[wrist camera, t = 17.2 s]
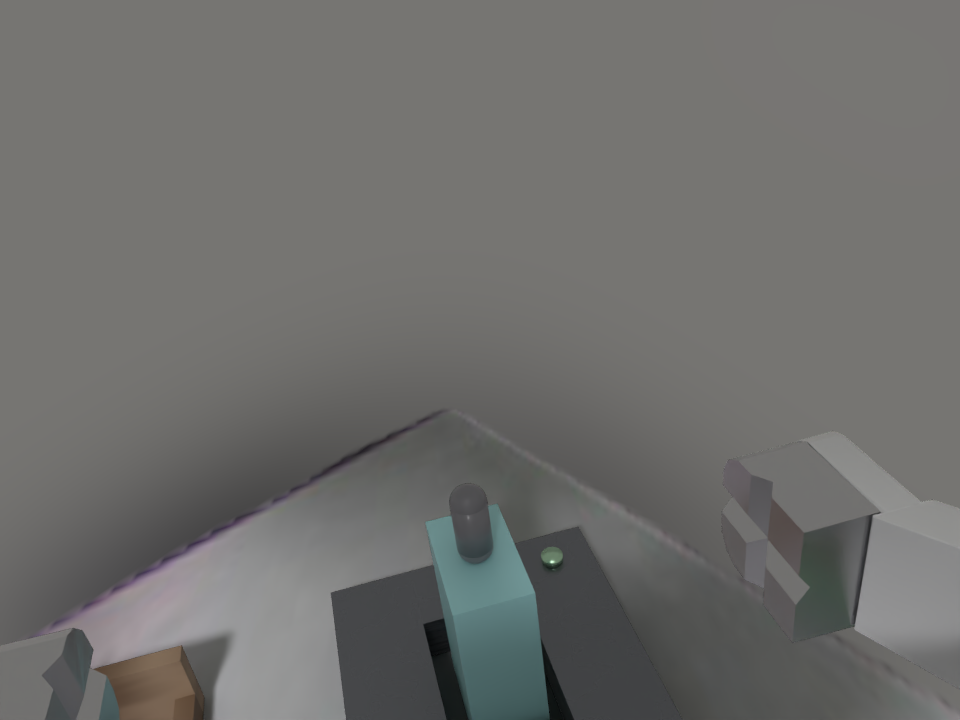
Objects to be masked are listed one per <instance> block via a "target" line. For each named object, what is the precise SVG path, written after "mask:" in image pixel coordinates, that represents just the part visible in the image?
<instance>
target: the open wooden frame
mask: <svg viewBox="0 0 960 720" xmlns="http://www.w3.org/2000/svg"><path fill="white" fill-rule="evenodd" d="M93 670H96V671H98V672H100V673H102V674H104V675H106V676H107V677H108V679H109V681H110V683H111V685H112V688H113V690H114V693H115V696H116V700H117V704H118V707H119V719H120V720H203V711H204V695H203V693H202V691H201V688H200V686H199V684H198V682H197V679H196V677H195V675H194V672H193V670H192V668H191V666H190V663H189V661H188V659H187V656H186V654H185V652H184V650H183V647H182V645H181V646H178V647H174V648H170V649H166V650H163V651H159V652H155V653H152V654H148V655H144V656H140V657H137V658H133V659H129V660H125V661H122V662H118V663H114V664H111V665H107V666H103V667H99V668H96V669H93Z"/></svg>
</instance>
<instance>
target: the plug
mask: <svg viewBox="0 0 960 720" xmlns="http://www.w3.org/2000/svg"><path fill="white" fill-rule="evenodd" d="M449 505H450V511H451V516H447V517H443V518H439V519H435V520H431V521H427V522H425V523H426V528H427V533H428V538H429V544H430V549H431V554H432V559H433V564H434V569H435V574H436V579H437V584H438V589H439V594H440V600H441V605H442V610H443V615H444V620H445V625H446V630H447V635H448V640H449V645H450V650H451V656H452V661H453V666H454V670H455V673H456V677H457V680H458V684H459V688H460V691H461V695H462V699H463V702H464V706H465V710H466V713H467V717H468V720H550V717H549V708H548V700H547V691H546V682H545V673H544V665H543V656H542V647H541V639H540V630H539V621H538V613H537V604H536V595H535V591H534V589H533V586H532V584H531V582H530V579H529V577H528V575H527V572H526V570H525V568H524V565H523V563H522V561H521V558H520V556H519V553H518V551H517V549H516V546H515V544H514V542H513V539H512V537H511V535H510V532H509V530H508V528H507V525H506V523H505V521H504V518H503V516H502V513H501V511H500V509H499V506H498V504H494V505H490V506H488V502H487V497H486V494H485V493H484V491H483V490H482V489H481V488H480V487H479V486H477V485H475V484H472V483H465V484H462V485H459V486H458V487H456V488H455V489H454V490H453V492H452V494H451V496H450V500H449Z"/></svg>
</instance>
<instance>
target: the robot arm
mask: <svg viewBox="0 0 960 720" xmlns="http://www.w3.org/2000/svg"><path fill="white" fill-rule="evenodd" d="M723 486H724V487H725V488H726V489H727V490H728V492H729V493H730V494H731V495H732V497H731V499H730V500H729V502H728V503H727V504H726V506H725V507H724V509H723V510H722V534H723V537H724V541H725V545H726V549H727V552H728V554H729V556H730V558H731V560H732V562H733V564H734V566H735V567H736V569H737V570H738V571H739V573H740V574H741V576H742V577H743V578H744V580H746V581H748V582H751V583H753V584H755V585H757V586H759V587H762V588H764V595H763V605H764V607H765V608H766V609H767V611H768V612H769V613H770V615H771V616H772V617H773V619H774V620H775V621H776V622H777V624H778V625H779V626H780V628H781V629H782V630H783V632H784V633H785V634H786V636H787V637H788V638H789V640H790V641H791V642H792V643H794V642H798V641H801V640H805V639H809V638H813V637H816V636H820V635H824V634H828V633H831V632H835V631H839V630H842V629H846V628H850V627H854V626H855V628H854V630H856V631H857V632H859V633H861V634H863V635H864V636H866V637H868V638H870V639H872V640H873V641H875V642H877V643H878V644H880V645H882V646H884V647H885V648H887V649H889V650H891V651H893V652H894V653H896V654H898V655H900V656H901V657H903V658H905V659H907V660H908V661H910V662H912V663H914V664H915V665H917V666H919V667H921V668H923V669H924V670H926V671H928V672H929V673H931V674H933V675H935V676H937V677H938V678H940V679H942V680H944V681H945V682H947V683H949V684H951V685H952V686H954V687H956V688H958V689H960V508H956V507H954V506H951V505H948V504H945V503H941V502H938V501H935V500H929V501H925V502H921V501H919V500H918V499H917V498H916V497H915V496H914V495H912V494H911V493H910V492H909V491H908V490H907V489H905V488H904V487H903V486H902V485H901V484H900V483H899V482H897V481H896V480H895V479H894V478H893V477H892V476H890V475H889V474H888V473H887V472H886V471H884V470H883V469H882V468H881V467H880V466H879V465H878V464H876V463H875V462H874V461H873V460H872V459H871V458H870V457H868V456H867V455H866V454H865V453H864V452H863V451H861V450H860V449H859V448H858V447H857V446H856V445H855V444H853V443H852V442H851V441H850V440H849V439H847V438H846V437H845V436H844V435H842V434H840V433H837V432H834V431H831V432H827V433H824V434H820V435H816V436H813V437H809V438H806V439H802V440H798V441H797V442H795V443H789V444H786V445H782V446H778V447H774V448H771V449H767V450H763V451H759V452H756V453H752V454H748V455H744V456H740V457H737V458H733V459H729V460H728V461H727V463H726V465H725V468H724V474H723ZM92 654H93V648H92V646H91V645H90V643H89V641H88V639H87V638H86V636H85V634H84V632H83V631H82V630H79V629H75V628H72V629H68V630H63V631H59V632H55V633H51V634H46V635H42V636H38V637H33V638H29V639H25V640H21V641H16V642H12V643H8V644H4V645H0V720H120V719H119V707H118V704H117V700H116V696H115V693H114V690H113V688H112V685H111V683H110V681H109V679H108V677H107V676H106V675H104V674H102V673H100V672H98V671H96V670H93V669H91V668H90V664H91V659H92Z"/></svg>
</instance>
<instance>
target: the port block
mask: <svg viewBox="0 0 960 720" xmlns="http://www.w3.org/2000/svg"><path fill="white" fill-rule="evenodd" d="M515 546H516V549H517V551H518V553H519V556H520V558H521V561H522V563H523V565H524V568H525V570H526V572H527V575H528V577H529V579H530V582H531V584H532V586H533V589H534V591H535V595H536V604H537V613H538V621H539V630H540V639H541V647H542V656H543V665H544V670H545V673H546V675H547V678H548V681H549V683H550V686H551V688H552V691H553V693H554V696H555V698H556V701H557V704H558V706H559V709H560V711H561V714H562V716H563V719H564V720H682V718H681V716H680V714H679V712H678V711H677V709H676V707H675V705H674V703H673V701H672V700H671V698H670V696H669V694H668V692H667V690H666V688H665V687H664V685H663V683H662V681H661V679H660V677H659V675H658V674H657V672H656V670H655V668H654V666H653V664H652V662H651V661H650V659H649V657H648V655H647V653H646V651H645V649H644V648H643V646H642V644H641V642H640V640H639V638H638V637H637V635H636V633H635V631H634V629H633V627H632V625H631V624H630V622H629V620H628V618H627V616H626V614H625V612H624V611H623V609H622V607H621V605H620V603H619V601H618V599H617V598H616V596H615V594H614V592H613V590H612V588H611V586H610V585H609V583H608V581H607V579H606V577H605V575H604V574H603V572H602V570H601V568H600V566H599V564H598V562H597V561H596V559H595V557H594V555H593V553H592V551H591V549H590V548H589V546H588V544H587V542H586V540H585V538H584V536H583V535H582V533H581V531H580V529H579V527H575V528H572V529H568V530H564V531H560V532H557V533H553V534H549V535H545V536H542V537H538V538H534V539H530V540H527V541H523V542H519V543H515ZM331 598H332V606H333V614H334V623H335V631H336V639H337V647H338V656H339V664H340V672H341V681H342V689H343V697H344V705H345V714H346V720H447V719H446V715H445V711H444V707H443V703H442V699H441V695H440V691H439V687H438V683H437V679H436V674H435V670H434V666H433V662H432V658H431V656H434V655H437V654H441V653H444V652H448V651H451V650H450V645H449V640H448V635H447V630H446V625H445V620H444V615H443V610H442V605H441V600H440V594H439V589H438V584H437V579H436V574H435V569H434V565H433V566H429V567H425V568H421V569H418V570H414V571H410V572H406V573H403V574H399V575H395V576H391V577H388V578H384V579H380V580H376V581H373V582H369V583H365V584H361V585H358V586H354V587H350V588H346V589H343V590H339V591H335V592H331Z"/></svg>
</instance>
